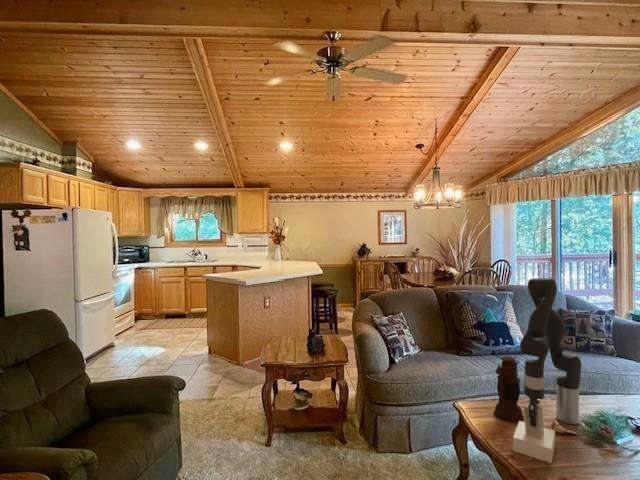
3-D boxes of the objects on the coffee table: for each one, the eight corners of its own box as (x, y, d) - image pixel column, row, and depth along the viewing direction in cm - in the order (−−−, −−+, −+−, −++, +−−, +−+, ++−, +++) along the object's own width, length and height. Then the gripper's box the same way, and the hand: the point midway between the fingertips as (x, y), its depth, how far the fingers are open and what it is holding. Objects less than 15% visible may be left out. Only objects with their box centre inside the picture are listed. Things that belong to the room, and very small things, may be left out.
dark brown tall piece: (513, 427, 172) (512, 366, 171) (486, 415, 184) (485, 357, 183) (531, 416, 182) (531, 358, 181) (504, 405, 193) (504, 350, 192)
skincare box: (544, 434, 155) (543, 407, 155) (540, 438, 153) (539, 410, 152) (528, 429, 160) (527, 402, 160) (524, 433, 157) (523, 405, 157)
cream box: (519, 433, 167) (519, 420, 167) (555, 444, 159) (555, 430, 159) (513, 450, 155) (512, 437, 155) (551, 463, 146) (551, 448, 146)
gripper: (526, 377, 164) (527, 413, 164) (521, 388, 152) (521, 427, 153) (546, 381, 159) (546, 418, 160) (542, 393, 148) (542, 433, 148)
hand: (534, 422), depth 156 cm, fingers open, 6 cm apart
